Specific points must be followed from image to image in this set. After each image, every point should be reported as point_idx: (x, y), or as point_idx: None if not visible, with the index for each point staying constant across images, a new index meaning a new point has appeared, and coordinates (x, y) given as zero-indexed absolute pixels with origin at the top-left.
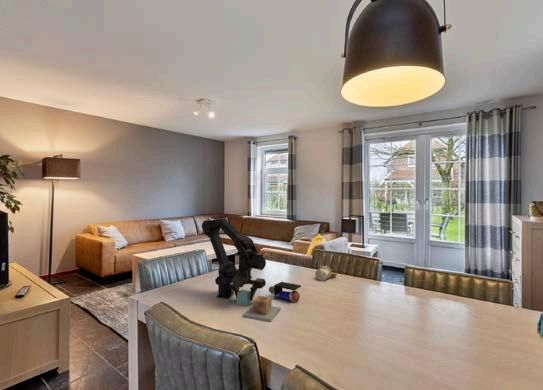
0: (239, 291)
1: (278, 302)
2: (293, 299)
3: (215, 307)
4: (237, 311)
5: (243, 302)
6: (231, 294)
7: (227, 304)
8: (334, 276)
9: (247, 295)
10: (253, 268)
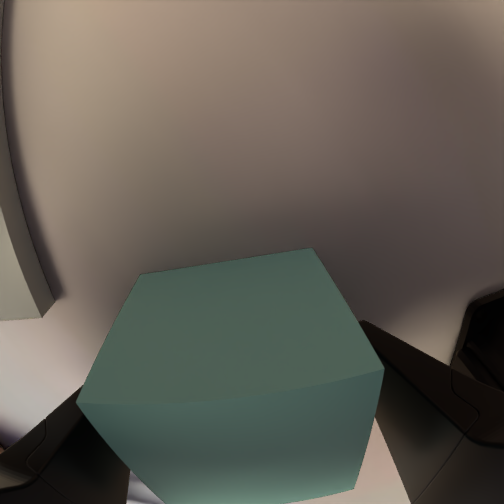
0: (359, 437)
1: (13, 420)
2: None
3: (470, 19)
4: (126, 12)
5: (194, 281)
6: (461, 369)
7: (418, 151)
8: None
9: (95, 389)
10: None
